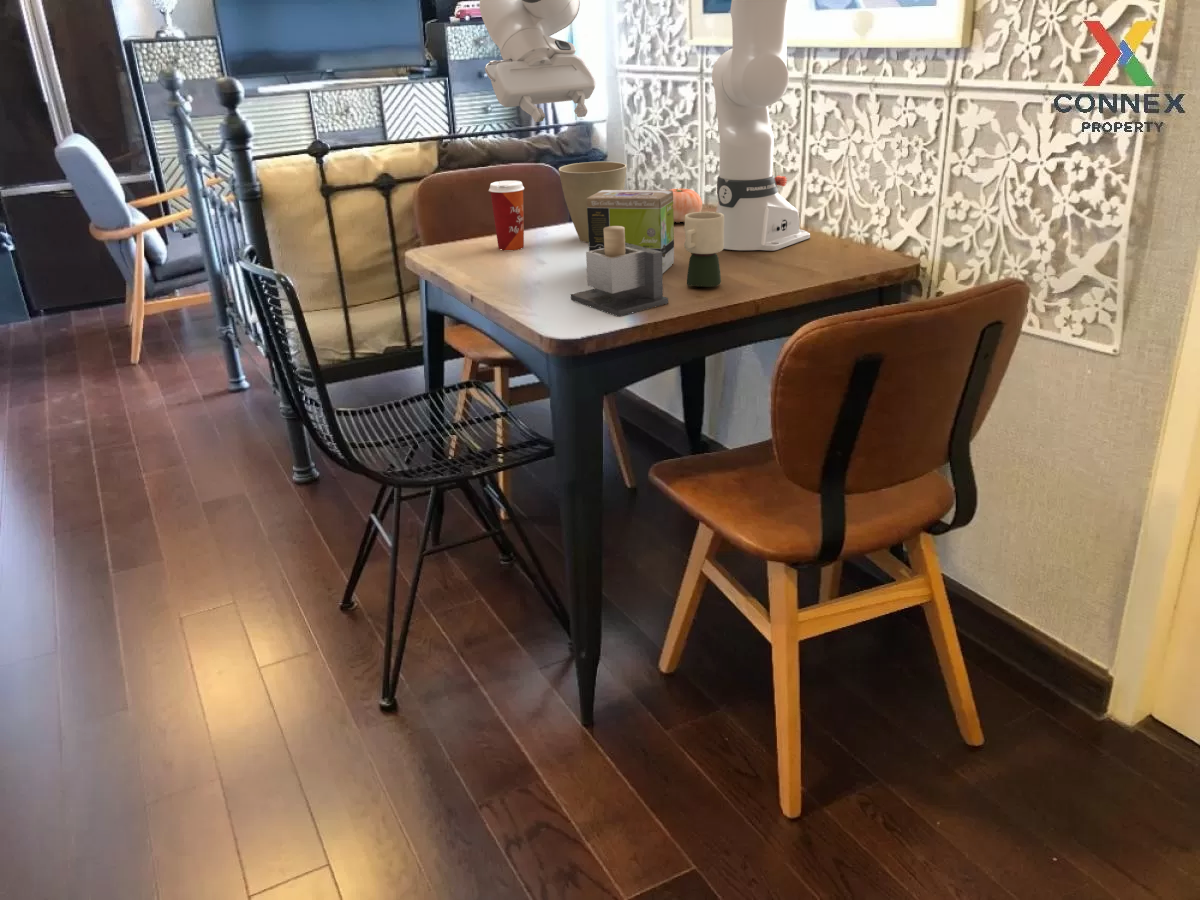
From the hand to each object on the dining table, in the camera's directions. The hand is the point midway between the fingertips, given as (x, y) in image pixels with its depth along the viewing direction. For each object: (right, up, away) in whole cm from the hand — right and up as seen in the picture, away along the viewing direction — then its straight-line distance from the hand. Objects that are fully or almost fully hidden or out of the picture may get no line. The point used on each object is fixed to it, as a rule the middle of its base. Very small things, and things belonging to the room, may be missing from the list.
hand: (562, 117), depth 171 cm
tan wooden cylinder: (+10, -31, -7) cm, 33 cm away
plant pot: (+6, -14, +40) cm, 43 cm away
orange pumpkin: (+26, -6, +55) cm, 61 cm away
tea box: (+13, -25, +16) cm, 32 cm away
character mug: (+26, -31, +2) cm, 40 cm away
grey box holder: (+10, -35, -6) cm, 37 cm away
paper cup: (-13, -16, +36) cm, 41 cm away
